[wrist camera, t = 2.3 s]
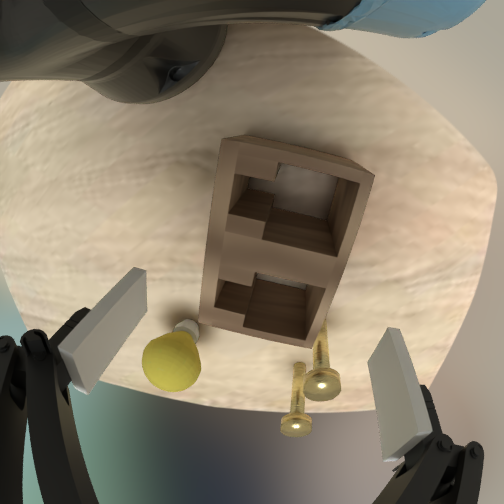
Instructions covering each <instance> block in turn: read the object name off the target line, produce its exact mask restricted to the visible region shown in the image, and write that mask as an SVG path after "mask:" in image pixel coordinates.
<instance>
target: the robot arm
mask: <svg viewBox="0 0 504 504" xmlns="http://www.w3.org/2000/svg"><path fill="white" fill-rule="evenodd" d="M485 1H486V0H0V82H3V81H20V80H70V81H82V82H84V83H85V84H87V85H88V86H90V87H91V88H93V89H94V90H96V91H97V92H99V93H100V94H102V95H103V96H105V97H107V98H109V99H111V100H114V101H117V102H121V103H132V104H149V103H155V102H160V101H163V100H166V99H169V98H171V97H173V96H175V95H177V94H179V93H181V92H183V91H184V90H186V89H187V88H189V87H190V86H191V85H193V84H194V83H195V82H196V81H197V80H199V79H200V78H201V77H202V76H203V75H204V74H205V72H206V71H207V70H208V69H209V68H210V67H211V65H212V64H213V62H214V61H215V59H216V58H217V56H218V54H219V52H220V50H221V48H222V46H223V43H224V40H225V36H226V31H227V24H235V23H279V24H296V25H308V26H314V27H316V28H318V29H319V30H324V31H335V30H341V29H343V28H346V29H354V30H361V31H367V32H373V33H379V34H384V35H389V36H394V37H399V38H420V37H426V36H428V35H431V34H433V33H436V32H437V31H438V30H446V29H449V28H451V27H453V26H455V25H457V24H459V23H460V22H462V21H463V20H464V19H466V18H467V17H469V16H470V15H471V14H473V12H475V11H476V10H477V9H478V8H479V7H480V6H481V5H482V4H483V3H484V2H485ZM146 312H147V286H146V270H143V269H139V268H136V267H133V268H132V269H131V270H130V271H129V272H128V273H127V274H126V275H125V276H124V277H123V278H122V279H121V280H120V281H119V282H118V283H117V284H116V285H115V286H114V287H113V288H112V289H111V290H110V291H109V292H108V293H107V294H106V295H105V296H104V297H103V298H102V299H101V300H100V301H99V302H98V303H97V305H96V306H95V307H94V308H93V309H92V310H90V309H88V308H86V307H84V308H82V309H80V310H78V311H77V312H75V313H74V314H73V315H72V316H71V317H70V319H69V320H67V321H66V322H65V324H64V325H63V326H62V327H61V328H60V329H59V330H58V331H57V332H56V333H55V334H54V335H53V336H52V337H51V338H50V339H49V340H48V337H47V335H46V334H45V332H44V331H42V330H39V329H33V330H29V331H27V332H26V333H24V334H23V336H22V337H21V340H20V343H21V345H22V347H21V346H17V345H16V343H15V341H14V339H13V338H12V337H10V336H1V337H0V504H23V492H22V478H23V454H24V442H25V433H26V425H27V418H28V425H29V433H30V441H31V447H32V454H33V459H34V465H35V470H36V474H37V478H38V483H39V487H40V491H41V495H42V498H43V502H44V504H99V502H98V500H97V497H96V495H95V492H94V489H93V486H92V484H91V480H90V477H89V474H88V471H87V468H86V464H85V461H84V458H83V454H82V451H81V446H80V443H79V439H78V435H77V430H76V425H75V421H74V417H73V410H72V405H71V399H70V393H69V388H68V384H69V383H70V382H71V381H72V383H73V385H74V388H75V389H77V390H79V391H81V392H83V393H85V394H87V395H89V393H90V392H91V390H92V388H93V387H94V385H95V384H96V382H97V381H98V380H99V378H100V377H101V375H102V374H103V372H104V371H105V369H106V368H107V366H108V365H109V364H110V362H111V361H112V359H113V358H114V356H115V355H116V354H117V352H118V351H119V349H120V348H121V347H122V345H123V344H124V342H125V341H126V339H127V338H128V337H129V335H130V334H131V333H132V331H133V330H134V328H135V327H136V326H137V324H138V323H139V322H140V320H141V319H142V317H143V316H144V315H145V313H146ZM368 367H369V373H370V378H371V383H372V389H373V394H374V400H375V406H376V412H377V419H378V426H379V433H380V441H381V448H382V458H383V462H384V461H397V460H398V459H400V458H401V457H402V456H404V457H405V461H404V462H403V463H401V464H400V465H399V466H397V467H396V468H394V469H393V470H392V471H393V472H394V471H396V470H397V469H398V470H397V471H396V473H395V474H394V475H393V477H392V478H391V480H390V481H389V483H388V484H387V485H386V487H385V488H384V489H383V491H382V492H381V493H380V495H379V496H378V497H377V498H376V500H375V501H374V502H373V503H372V504H477V502H478V497H479V491H480V485H481V477H482V470H483V460H484V450H483V448H482V446H481V445H480V444H479V443H478V442H475V441H472V442H470V443H468V444H467V445H466V446H465V447H464V446H459V445H455V444H454V443H453V441H452V439H451V438H450V437H449V436H448V435H446V434H443V433H442V430H441V426H440V423H439V419H438V416H437V413H436V410H435V406H434V403H433V400H432V397H431V393H430V392H429V390H428V389H427V387H426V386H425V385H419V382H418V379H417V376H416V373H415V370H414V367H413V364H412V361H411V358H410V355H409V352H408V350H407V347H406V344H405V342H404V339H403V336H402V334H401V331H400V329H397V328H391V327H388V328H387V330H386V332H385V333H384V335H383V337H382V339H381V340H380V342H379V344H378V345H377V347H376V349H375V350H374V352H373V354H372V355H371V357H370V359H369V360H368ZM454 480H455V481H454Z"/></svg>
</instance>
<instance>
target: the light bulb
mask: <svg viewBox="0 0 504 504" xmlns="http://www.w3.org/2000/svg"><path fill="white" fill-rule="evenodd" d="M198 330H199V327H198V325H197V323H196V322H194V321H193V320H190V319H185V320H183V321H182V322H180V323H178V324H177V325H176V326H175V328H174V330H173V332H172V333H167V334H165V335H162V336H160V337H158V338H156V339H153V340H151V341H150V342H149V344H148V345H147V346H146V347H145V349H144V352H143V357H142V367H143V370H144V373H145V375H146V377H147V378H148V380H149V381H150V382H151V383H152V384H153V385H154V386H156V387H157V388H159V389H161V390H164V391H168V392H178V391H183V390H185V389H187V388H189V387H190V386H191V385H193V384H194V383H195V382H196V380H197V378H198V376H199V374H200V371H201V362H200V358H199V353H198V350H197V347H196V345H195V344H196V343H197V340H198V338H199V332H198Z"/></svg>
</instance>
